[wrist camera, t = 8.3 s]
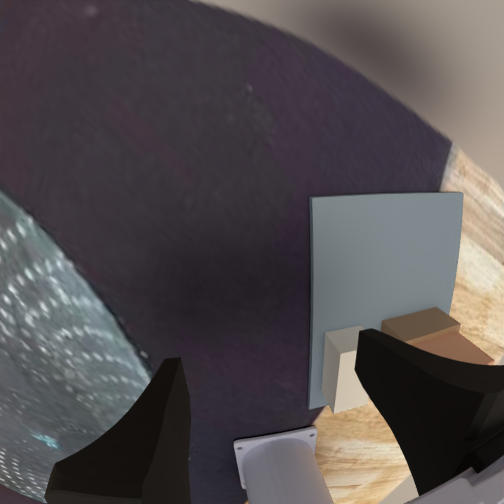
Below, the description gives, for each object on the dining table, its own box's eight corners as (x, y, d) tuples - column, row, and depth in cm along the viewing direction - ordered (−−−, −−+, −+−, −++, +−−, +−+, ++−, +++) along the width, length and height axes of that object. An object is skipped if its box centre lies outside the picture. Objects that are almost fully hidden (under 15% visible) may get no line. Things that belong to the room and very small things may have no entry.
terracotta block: (441, 377, 22) (474, 410, 18) (397, 395, 22) (428, 433, 17) (455, 330, 21) (494, 360, 16) (409, 345, 20) (448, 383, 16)
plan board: (431, 368, 27) (453, 389, 23) (307, 405, 25) (321, 436, 22) (458, 191, 22) (492, 199, 18) (309, 196, 20) (333, 205, 16)
